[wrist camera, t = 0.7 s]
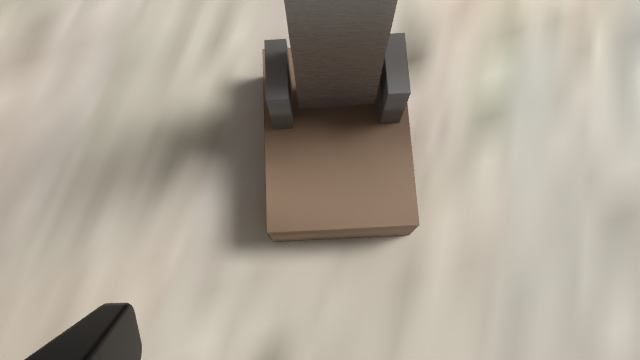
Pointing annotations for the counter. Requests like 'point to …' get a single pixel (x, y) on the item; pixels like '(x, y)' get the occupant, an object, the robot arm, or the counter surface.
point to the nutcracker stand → (338, 156)
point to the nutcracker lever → (338, 49)
